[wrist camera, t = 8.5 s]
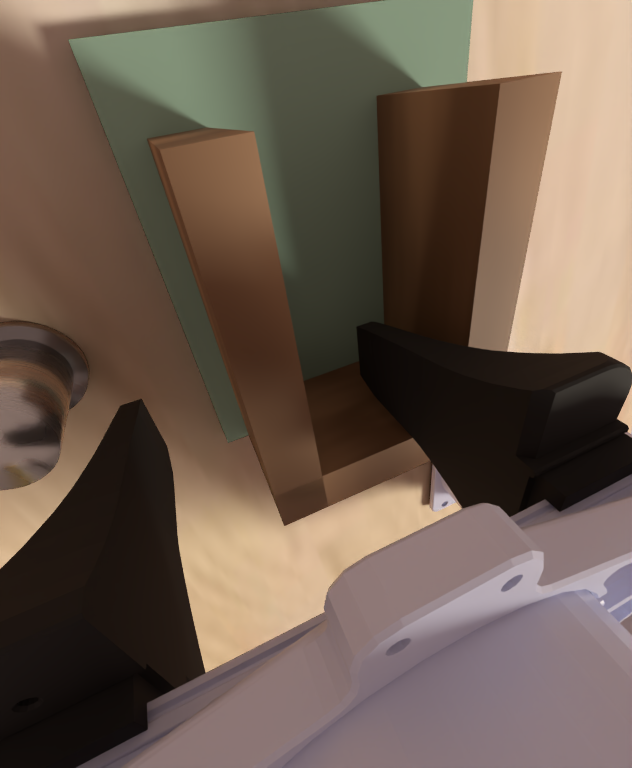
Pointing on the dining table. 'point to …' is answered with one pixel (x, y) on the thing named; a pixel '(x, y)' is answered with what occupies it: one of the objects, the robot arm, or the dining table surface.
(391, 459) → the walnut C-link
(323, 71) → the green rubber mat
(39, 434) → the metal door knob
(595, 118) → the dining table surface
